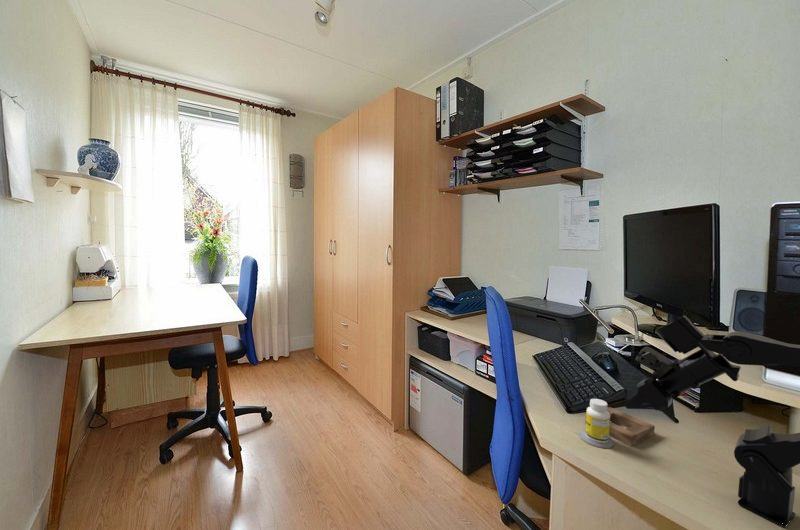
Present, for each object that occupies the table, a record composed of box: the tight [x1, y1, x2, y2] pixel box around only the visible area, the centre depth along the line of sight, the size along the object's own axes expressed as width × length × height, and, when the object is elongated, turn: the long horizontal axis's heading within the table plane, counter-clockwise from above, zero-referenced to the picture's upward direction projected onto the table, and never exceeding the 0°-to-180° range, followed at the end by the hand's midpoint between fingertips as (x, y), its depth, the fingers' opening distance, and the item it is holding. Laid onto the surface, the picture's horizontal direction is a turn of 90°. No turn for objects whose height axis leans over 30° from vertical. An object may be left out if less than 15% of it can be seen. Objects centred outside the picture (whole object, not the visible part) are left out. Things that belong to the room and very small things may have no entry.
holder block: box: [584, 406, 656, 447], centre depth 94 cm, size 12×12×2 cm
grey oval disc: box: [578, 428, 615, 449], centre depth 89 cm, size 8×8×1 cm
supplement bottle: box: [585, 398, 610, 443], centre depth 89 cm, size 5×5×10 cm
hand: (631, 401), depth 83 cm, fingers open, 9 cm apart
